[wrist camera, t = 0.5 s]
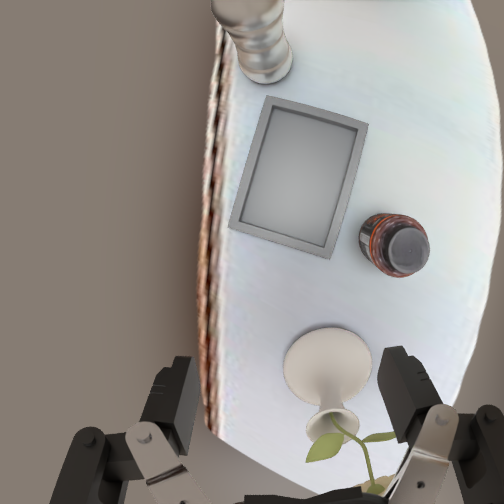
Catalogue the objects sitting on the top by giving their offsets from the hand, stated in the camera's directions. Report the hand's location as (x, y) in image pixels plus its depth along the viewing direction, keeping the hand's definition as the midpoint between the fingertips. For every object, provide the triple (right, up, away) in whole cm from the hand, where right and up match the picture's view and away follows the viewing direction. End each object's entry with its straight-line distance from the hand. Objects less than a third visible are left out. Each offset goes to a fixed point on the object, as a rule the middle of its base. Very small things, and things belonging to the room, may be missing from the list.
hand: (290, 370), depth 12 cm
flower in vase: (+9, -10, +26) cm, 29 cm away
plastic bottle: (+1, +28, +22) cm, 36 cm away
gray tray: (+4, +14, +23) cm, 27 cm away
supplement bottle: (+14, +7, +23) cm, 27 cm away
